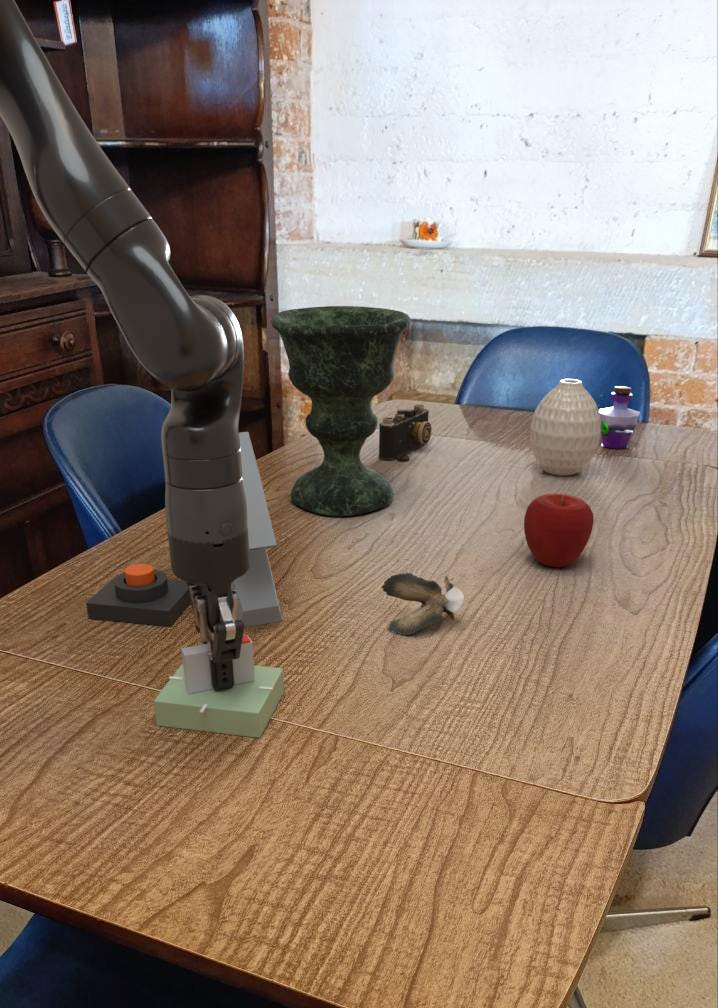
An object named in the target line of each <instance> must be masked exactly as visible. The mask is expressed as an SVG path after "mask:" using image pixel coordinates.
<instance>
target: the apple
mask: <svg viewBox="0 0 718 1008" xmlns="http://www.w3.org/2000/svg"><path fill="white" fill-rule="evenodd" d="M594 519H595V518H594V513H593V509H592V507H591V506H590V505H589V504H588V503H587V502H586V500H584V499H582V498H580V497H577V496H575V495H570V494H565V493H546V494H542V495H541V494H540V495H538V496H537V497H536V498H534V499H533V500H531V502H530V503H529V504H528V506H527V507H526V511H525V514H524V520H523V530H524V537H525V540H526V544H527V548H528V549H529V551H530V553H531V554H532V555H533V557H534V558H535V559H536V560H537V561H539V563H541V564H542V565H544V566H547V567H551V568H552V567H553V568H563V567H567V566H569V565H571V564H572V563H574V562H575V561H576V560H577V559H578V558H580V556H581V554H582V553H583V551H584V550H585V548H586V547H587V544H588V543H589V541H590V538H591V534H592V532H593V526H594V521H595V520H594Z"/></svg>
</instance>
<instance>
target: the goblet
mask: <svg viewBox="0 0 718 1008" xmlns="http://www.w3.org/2000/svg"><path fill="white" fill-rule="evenodd" d="M411 322H412V321H411V317H410V316H409V314H407V313H406V312H404V311H403V312H402V311H400V310H395V309H390V308H382V307H371V306H359V305H358V306H357V305H328V306H327V305H326V306H312V307H301V308H293V309H288V310H281V311H279V312H276V313H274V315H272V316H271V319H270V323H271V326H272V328H273V329H274V330H275V331H277V332H278V334H279V336H280V338H281V340H282V343H283V348H284V350H285V353H286V356H287V360H288V365H289V369H288V373H287V376H288V379H289V381H290V382H291V384H292V386H293V387H294V388H295V389H297V390H298V391H299V392H300V393H302V394H303V395H305V396H307V397H309V399H310V402H311V408H310V409H311V410H310V412H309V414H307V416H306V417H305V426H306V430H307V431H308V433H309V434H310V435H311V436H312V437H313V438H316V440H317V442H318V444H319V445H320V447H321V449H322V452H323V460H322V462H321V464H320V465H319V466H317V467H315V468H313V469H311V470H308V471H306V472H305V473H304V474H301V476H299V477H298V478H297V479H296V481H295V482H294V484H293V486H292V488H291V491H290V495H289V496H290V500H291V501H292V502H293V503H294V504H295V505H296V506H298V507H300V508H301V509H304V510H306V511H309V512H312V513H315V514H318V515H322V516H329V517H351V516H352V517H353V516H359V515H365V514H367V513H371V512H373V511H377V510H380V509H381V508H384V507H387V505H389V504H390V503H392V501H393V500H394V498H395V494H394V490H393V487H392V485H391V483H390V482H389V481H388V479H387V478H386V477H385V476H384V475H382V474H381V473H380V472H378V471H377V470H374V469H371V468H370V467H367V466H365V464H364V463H363V462H362V460H361V450H362V448H363V446H364V445H365V442H366V440H367V439H368V438H370V437H371V436H372V435H373V434H374V433H376V432H375V431H376V430H377V428H378V425H379V424H378V423H379V420H378V417H377V415H376V414H375V413H374V411H373V408H372V401H373V399H374V397H376V396H378V395H379V394H380V393H383V392H384V391H385V390H386V389H387V388H388V387H389V386H390V385H391V384H392V382H393V381H394V376H395V371H394V361H395V357H396V354H397V351H398V347H399V344H400V340H401V338H402V335H403V334H404V332H405V331H406V330H407V329H408V328H409V327H410V325H411Z"/></svg>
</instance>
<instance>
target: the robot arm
mask: <svg viewBox="0 0 718 1008" xmlns="http://www.w3.org/2000/svg"><path fill="white" fill-rule="evenodd" d="M0 118H1V119H2V121H3V123H4V124H5V126H6V128H7V130H8V132H9V134H10V136H11V138H12V140H13V142H14V143H13V144H14V145H15V147H16V150H17V152H18V153H17V154H18V155H19V158H20V161H21V164H22V167H23V170H24V173H25V175H26V179H27V181H28V184H29V187H30V189H31V191H32V194H33V197H34V199H35V200H36V203H37V204H38V206H39V209H40V210H41V213H42V214H43V216H44V217H45V219H46V221H47V222H48V224H49V226H50V227H51V228H52V230H53V231H54V232H55V234H56V235H57V236H58V238H59V239H60V240H61V242H62V243H63V244H64V245H65V246H66V248H67V249H68V251H69V252H70V253H71V254H72V256H73V257H74V258H75V259H76V261H77V262H78V263H79V265H80V266H81V268H82V269H83V270H84V271H85V272H86V273H87V275H88V276H89V278H90V279H91V280H92V282H94V283H95V284H96V286H97V287H98V288H99V290H100V291H101V293H102V295H103V297H104V299H105V302H106V304H107V306H108V309H109V311H110V313H111V314H112V316H113V318H114V320H115V322H116V324H117V326H118V329H119V330H120V332H121V333H122V336H123V337H124V339H125V341H126V343H127V345H128V346H129V348H130V350H131V351H132V353H133V354H134V356H135V358H136V360H137V361H138V362H139V363H140V364H141V365H142V367H143V368H144V369H145V370H146V372H148V373H149V374H150V376H152V377H153V378H154V379H155V380H156V381H157V382H159V383H160V384H161V385H163V386H164V387H167V388H169V389H171V393H170V395H171V397H170V398H171V399H170V402H171V403H170V409H169V412H168V414H167V415H166V417H165V418H164V421H163V423H162V425H161V433H160V435H161V437H160V440H161V441H160V442H161V443H160V444H161V453H162V464H163V472H164V483H165V484H164V485H165V487H164V488H165V489H164V490H165V491H164V509H165V518H166V530H167V539H168V548H169V559H170V567H171V568H170V569H171V571H172V574H173V575H174V577H176V578H178V580H183V581H186V582H187V585H188V587H189V592H190V598H191V603H190V604H191V606H192V613H193V620H194V624H195V626H194V628H195V630H196V633H198V634H199V635H200V636H199V642H200V644H201V645H203V644H208V657H209V660H210V672H211V684H212V687H213V689H214V690H216V691H219V690H224V689H229V688H232V687H233V686H234V673H233V659H239V657H240V651H241V645H242V639H243V636H244V632H245V627H244V623H243V622H242V620H241V619H240V620H237V613H236V610H237V608H238V596H237V592H236V590H232V587H231V583H232V582H233V581H234V580H235V579H237V578H238V577H241V576H242V575H244V574H245V573H246V572H247V571H248V569H249V567H250V554H249V537H248V521H247V504H246V496H245V491H244V486H243V480H242V466H241V449H240V438H239V433H240V432H239V431H240V430H239V424H240V415H241V407H242V406H241V405H242V397H243V385H244V372H245V371H244V370H245V346H244V337H243V333H242V329H241V326H240V323H239V321H238V319H237V317H236V315H235V313H234V312H233V311H232V309H231V308H230V307H229V306H228V305H227V304H226V303H224V302H223V301H222V300H220V299H218V298H217V297H214V296H211V295H206V294H195V295H194V294H193V295H189V293H188V291H187V290H186V289H185V288H184V285H183V284H182V283H181V281H180V279H179V278H178V276H177V274H176V273H175V271H174V270H173V268H172V266H171V265H170V263H169V262H170V259H171V247H170V244H169V241H168V240H167V238H166V236H165V234H164V233H163V231H162V230H161V228H160V227H159V225H158V224H157V223H156V221H155V220H154V219H153V217H152V215H150V213H149V212H148V210H147V208H146V207H145V206H144V205H143V204H142V202H141V201H140V200H139V198H138V197H137V196H136V194H135V193H134V191H133V190H132V189H131V187H130V186H129V185H128V183H127V182H126V181H125V179H124V178H123V176H122V175H121V174H120V173H119V171H118V170H117V168H116V167H115V166H114V163H112V161H111V160H110V159H109V157H108V156H107V154H106V153H105V152H104V149H102V147H101V146H100V144H99V143H98V141H97V140H96V138H95V137H94V135H93V133H92V132H91V130H90V129H89V127H88V126H87V125H86V123H85V121H84V120H83V118H82V116H81V115H80V114H79V112H78V110H77V108H76V107H75V105H74V104H73V102H72V99H70V97H69V95H68V93H67V92H66V90H65V88H64V86H63V85H62V83H61V81H60V80H59V78H58V76H57V75H56V72H55V71H54V69H53V67H52V66H51V64H50V62H49V60H48V58H47V57H46V55H45V53H44V51H43V49H42V48H41V46H40V45H39V42H38V41H37V39H36V37H35V36H34V34H33V32H32V30H31V28H30V27H29V25H28V23H27V21H26V19H25V17H24V16H23V13H22V12H21V10H20V8H19V6H18V4H17V3H16V1H15V0H0Z"/></svg>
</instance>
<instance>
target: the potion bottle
mask: <svg viewBox="0 0 718 1008" xmlns="http://www.w3.org/2000/svg"><path fill="white" fill-rule="evenodd" d="M633 396H634V395H633V393H632V387H629V386H624V385H615V386H614V389H613V391H612V392H611V394H610V401H612V402H613V406H610V407H604V408H599V409H598V410H599V413H600V418H601V445H600V446H601V447H603V448H604V449H605V448H606V449H607V450H619V451H620V450H625V449H628V446H629V443H630V439H631V437H632V434H633V431H635V429H636V426H637V423H638V421H639V418H640V414H641V411H639V410H635V409H632V408H629V407H628V403H631V402H632V400H633Z"/></svg>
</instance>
